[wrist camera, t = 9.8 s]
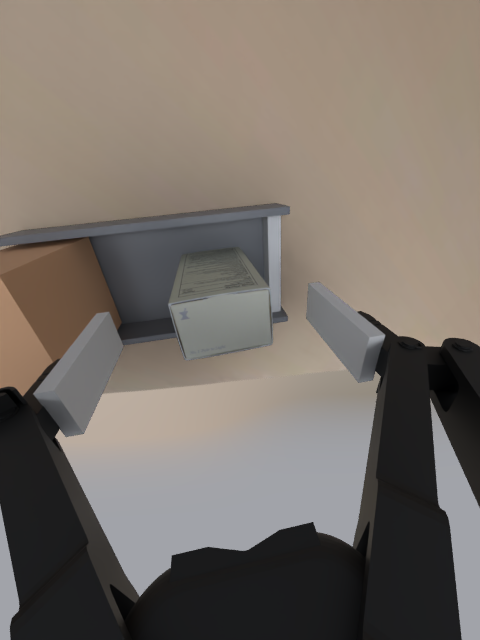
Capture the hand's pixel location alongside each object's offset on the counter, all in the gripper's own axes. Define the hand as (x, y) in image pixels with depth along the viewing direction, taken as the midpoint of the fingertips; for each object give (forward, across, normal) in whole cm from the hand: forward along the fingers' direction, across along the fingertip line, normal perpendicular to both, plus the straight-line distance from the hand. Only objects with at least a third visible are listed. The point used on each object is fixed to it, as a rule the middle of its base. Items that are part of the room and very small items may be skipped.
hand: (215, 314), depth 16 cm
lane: (+11, -4, 0) cm, 12 cm away
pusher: (+11, -14, 0) cm, 17 cm away
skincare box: (+11, +1, 0) cm, 11 cm away
